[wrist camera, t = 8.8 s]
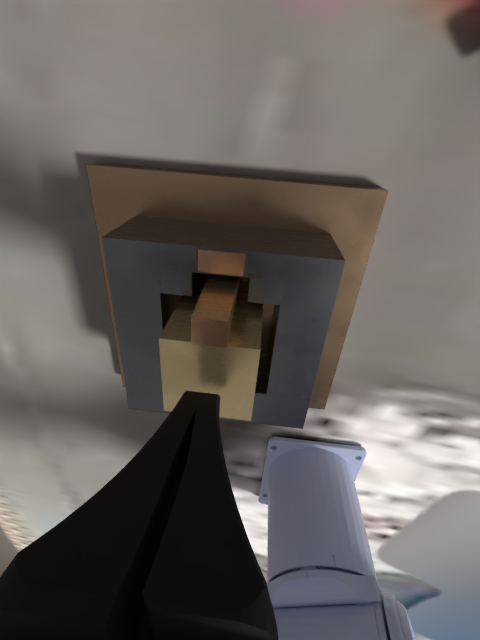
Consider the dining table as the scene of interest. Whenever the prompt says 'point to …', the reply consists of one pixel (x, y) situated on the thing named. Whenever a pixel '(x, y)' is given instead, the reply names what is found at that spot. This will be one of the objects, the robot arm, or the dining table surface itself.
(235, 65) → the dining table surface
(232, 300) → the keyed shaft
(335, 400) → the dining table surface
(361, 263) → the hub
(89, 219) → the dining table surface
